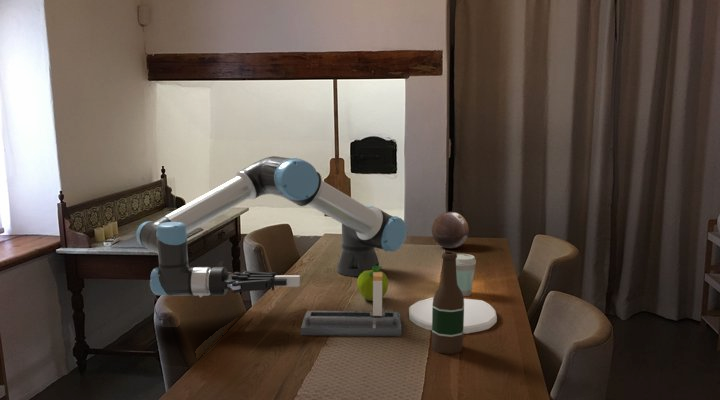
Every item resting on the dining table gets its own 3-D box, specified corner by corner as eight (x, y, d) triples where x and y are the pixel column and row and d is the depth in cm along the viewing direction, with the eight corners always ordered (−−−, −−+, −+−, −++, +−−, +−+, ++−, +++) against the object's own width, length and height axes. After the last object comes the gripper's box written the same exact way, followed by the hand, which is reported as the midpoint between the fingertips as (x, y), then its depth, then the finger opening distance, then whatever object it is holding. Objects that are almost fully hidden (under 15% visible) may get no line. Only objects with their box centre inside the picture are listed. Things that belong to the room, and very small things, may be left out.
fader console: (300, 335, 165) (300, 321, 164) (305, 319, 176) (305, 306, 176) (401, 336, 164) (401, 322, 163) (399, 320, 176) (399, 307, 175)
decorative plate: (420, 287, 194) (503, 296, 185) (420, 300, 194) (502, 309, 186) (396, 313, 171) (489, 324, 162) (396, 327, 171) (489, 339, 163)
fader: (369, 321, 168) (369, 276, 166) (369, 316, 172) (370, 272, 170) (385, 321, 168) (385, 276, 166) (384, 316, 172) (385, 272, 170)
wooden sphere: (462, 253, 252) (463, 216, 250) (426, 250, 258) (427, 213, 256) (472, 246, 265) (473, 210, 263) (438, 242, 272) (438, 208, 269)
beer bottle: (428, 343, 159) (430, 249, 156) (459, 342, 160) (461, 248, 156) (434, 355, 152) (436, 257, 148) (467, 354, 152) (469, 256, 149)
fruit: (391, 296, 197) (391, 265, 195) (382, 305, 188) (382, 273, 187) (363, 293, 200) (363, 262, 198) (353, 302, 191) (353, 270, 190)
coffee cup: (475, 298, 195) (476, 260, 193) (447, 296, 197) (447, 259, 195) (475, 290, 203) (476, 253, 201) (448, 288, 205) (449, 252, 203)
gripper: (217, 287, 176) (302, 287, 175) (205, 302, 163) (297, 302, 162) (216, 261, 175) (302, 260, 174) (203, 274, 162) (296, 274, 161)
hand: (299, 280), depth 168 cm, fingers closed
